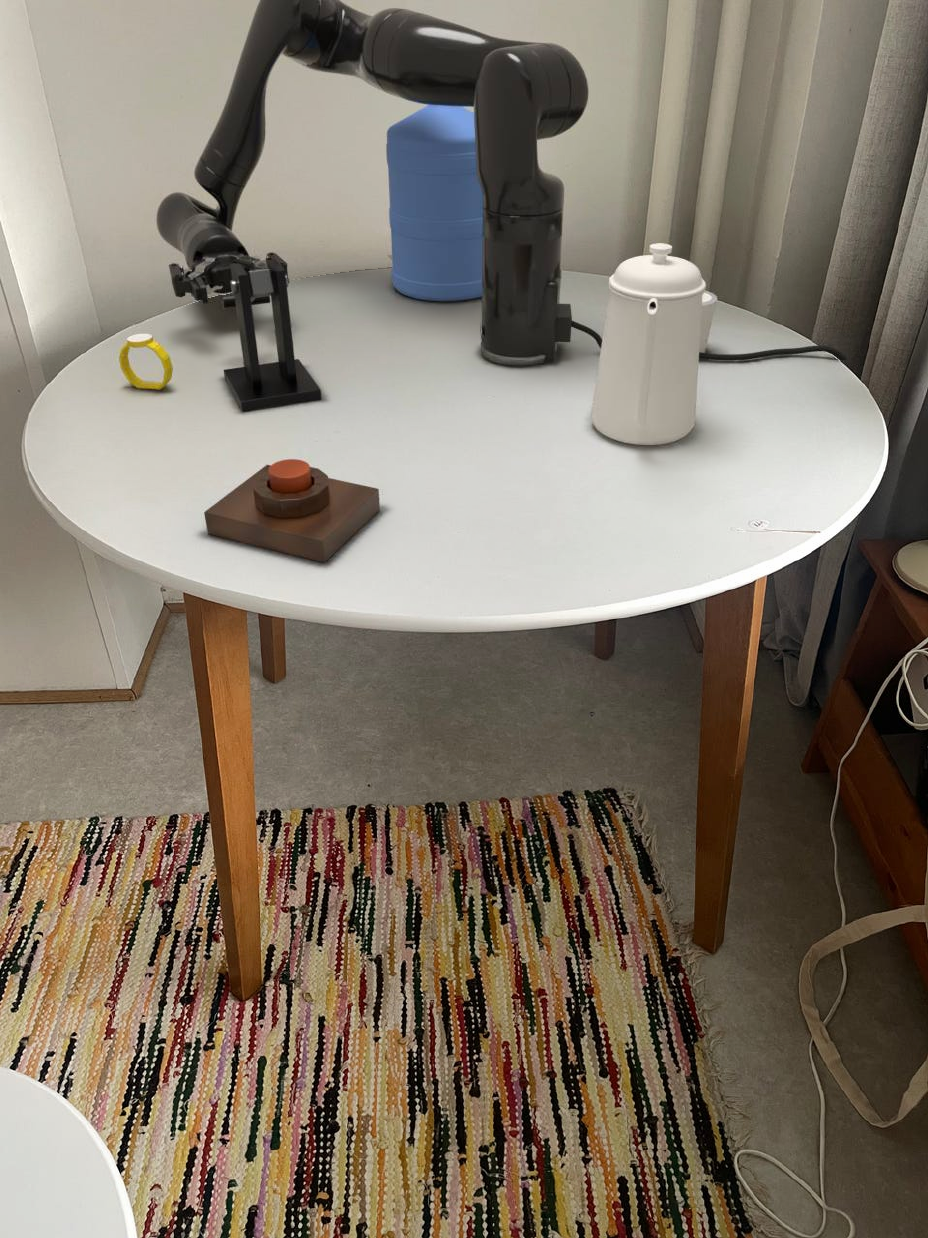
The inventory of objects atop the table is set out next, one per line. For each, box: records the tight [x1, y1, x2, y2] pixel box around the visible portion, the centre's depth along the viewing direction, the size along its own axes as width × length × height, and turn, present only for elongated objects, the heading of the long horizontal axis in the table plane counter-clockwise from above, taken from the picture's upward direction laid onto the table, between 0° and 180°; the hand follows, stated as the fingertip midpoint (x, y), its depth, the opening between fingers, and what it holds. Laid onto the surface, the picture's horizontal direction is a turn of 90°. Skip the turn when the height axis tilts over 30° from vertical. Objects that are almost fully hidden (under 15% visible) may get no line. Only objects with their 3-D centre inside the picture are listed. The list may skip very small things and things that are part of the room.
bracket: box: [223, 259, 322, 412], centre depth 111 cm, size 10×9×14 cm
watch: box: [118, 333, 174, 391], centre depth 113 cm, size 6×3×6 cm, turn 74°
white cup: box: [699, 290, 718, 353], centre depth 122 cm, size 7×7×7 cm
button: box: [269, 458, 312, 494], centre depth 88 cm, size 4×4×2 cm
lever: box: [220, 269, 274, 310], centre depth 113 cm, size 13×6×2 cm, turn 22°
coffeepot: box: [590, 242, 707, 446], centre depth 100 cm, size 11×25×19 cm, turn 168°
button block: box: [203, 464, 381, 564], centre depth 89 cm, size 12×10×4 cm
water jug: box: [385, 104, 483, 302], centre depth 137 cm, size 16×16×28 cm
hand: (240, 290), depth 121 cm, fingers open, 8 cm apart
